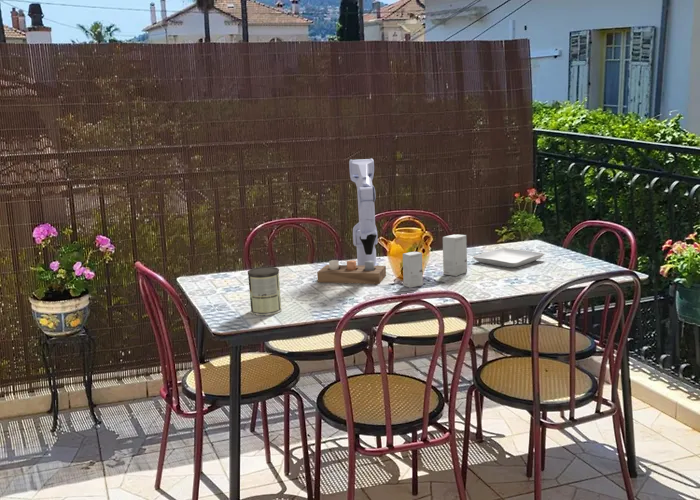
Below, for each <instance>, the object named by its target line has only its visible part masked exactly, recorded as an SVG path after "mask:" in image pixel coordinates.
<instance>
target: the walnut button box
mask: <svg viewBox="0 0 700 500" xmlns="http://www.w3.org/2000/svg"><path fill="white" fill-rule="evenodd" d="M316 274H317V278H316V279H317V283H325V284H326V283H329V284H332V283H333V284H367V285H368V284H371V285H372V284H374V285H380V284H381V283H382V282H383V280H384V279H385V278H386V277H387V266H386V265H377V266H374V271H365V265H358V264H356V270H347V264H339V270H330V267H329V264H325V265H324V266H323V267H322V268H321V269H319V270H318V271H317V272H316Z"/></svg>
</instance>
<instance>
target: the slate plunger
mask: <svg viewBox="0 0 700 500" xmlns="http://www.w3.org/2000/svg"><path fill="white" fill-rule="evenodd" d="M364 263H365V271H374V261H365V262H364Z"/></svg>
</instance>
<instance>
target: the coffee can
mask: <svg viewBox="0 0 700 500" xmlns="http://www.w3.org/2000/svg"><path fill="white" fill-rule="evenodd" d="M247 275H248V277H247V278H248V289H249V300H250V301H249V302H250V303H249V304H250V313H251V314H252V315H254V314H256V315H255V316H259V315H266V316H272V315H277V314H279V313H281V312H282V301H281V300H282V298H281V288H280V287H281V285H280V284H281V283H280V269H279V268H278V267H275V266H259V267H253V268H250V269H248V270H247Z"/></svg>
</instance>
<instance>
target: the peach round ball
mask: <svg viewBox="0 0 700 500" xmlns="http://www.w3.org/2000/svg"><path fill="white" fill-rule="evenodd" d="M346 265H347V270H356V265H357V260H355V259H354V260H352V259H350V260H346Z"/></svg>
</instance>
